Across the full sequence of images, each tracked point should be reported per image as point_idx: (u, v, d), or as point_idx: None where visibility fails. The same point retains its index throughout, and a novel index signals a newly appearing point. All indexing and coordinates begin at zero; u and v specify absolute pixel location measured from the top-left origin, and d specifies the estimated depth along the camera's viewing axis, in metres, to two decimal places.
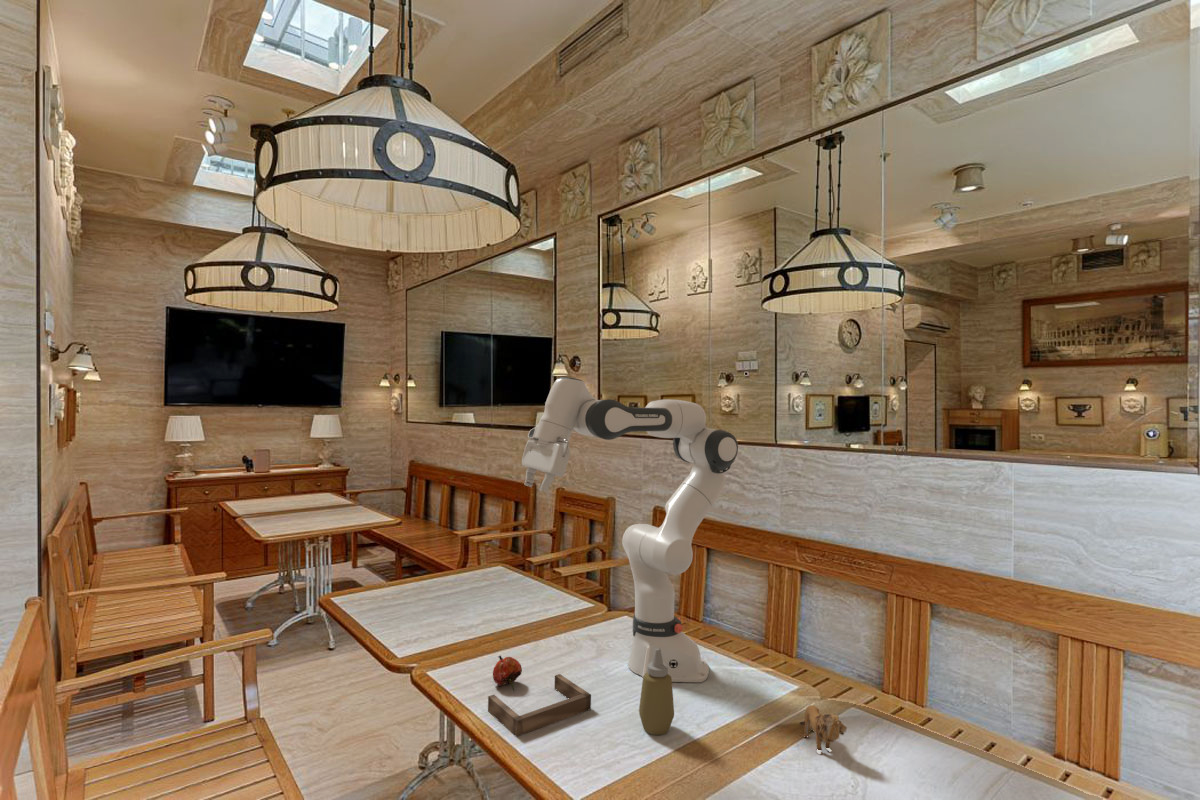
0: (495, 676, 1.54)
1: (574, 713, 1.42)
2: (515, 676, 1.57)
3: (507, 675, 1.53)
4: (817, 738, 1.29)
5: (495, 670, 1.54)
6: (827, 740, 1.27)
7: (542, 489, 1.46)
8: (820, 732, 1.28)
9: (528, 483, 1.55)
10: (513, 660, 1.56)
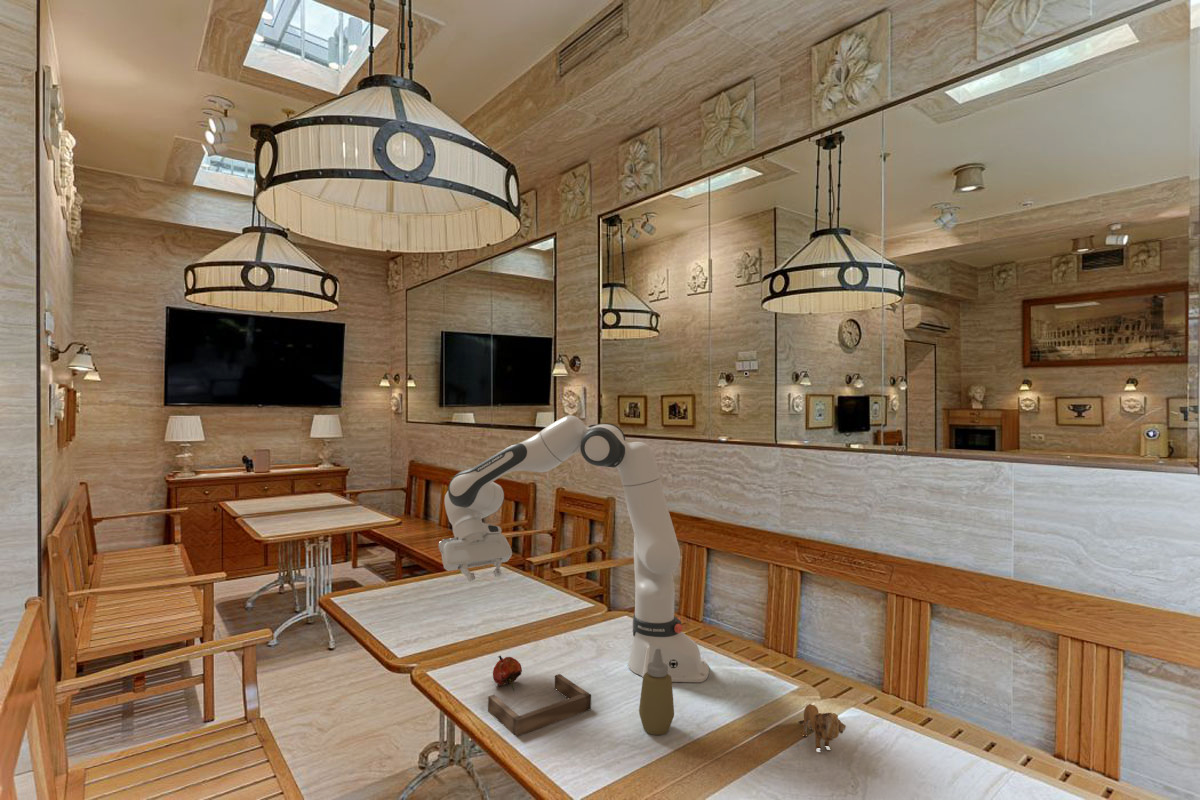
0: (495, 676, 1.54)
1: (574, 713, 1.42)
2: (515, 676, 1.57)
3: (507, 675, 1.53)
4: (816, 737, 1.29)
5: (495, 670, 1.54)
6: (826, 739, 1.27)
7: (468, 580, 1.65)
8: (819, 731, 1.28)
9: (495, 574, 1.70)
10: (513, 660, 1.56)
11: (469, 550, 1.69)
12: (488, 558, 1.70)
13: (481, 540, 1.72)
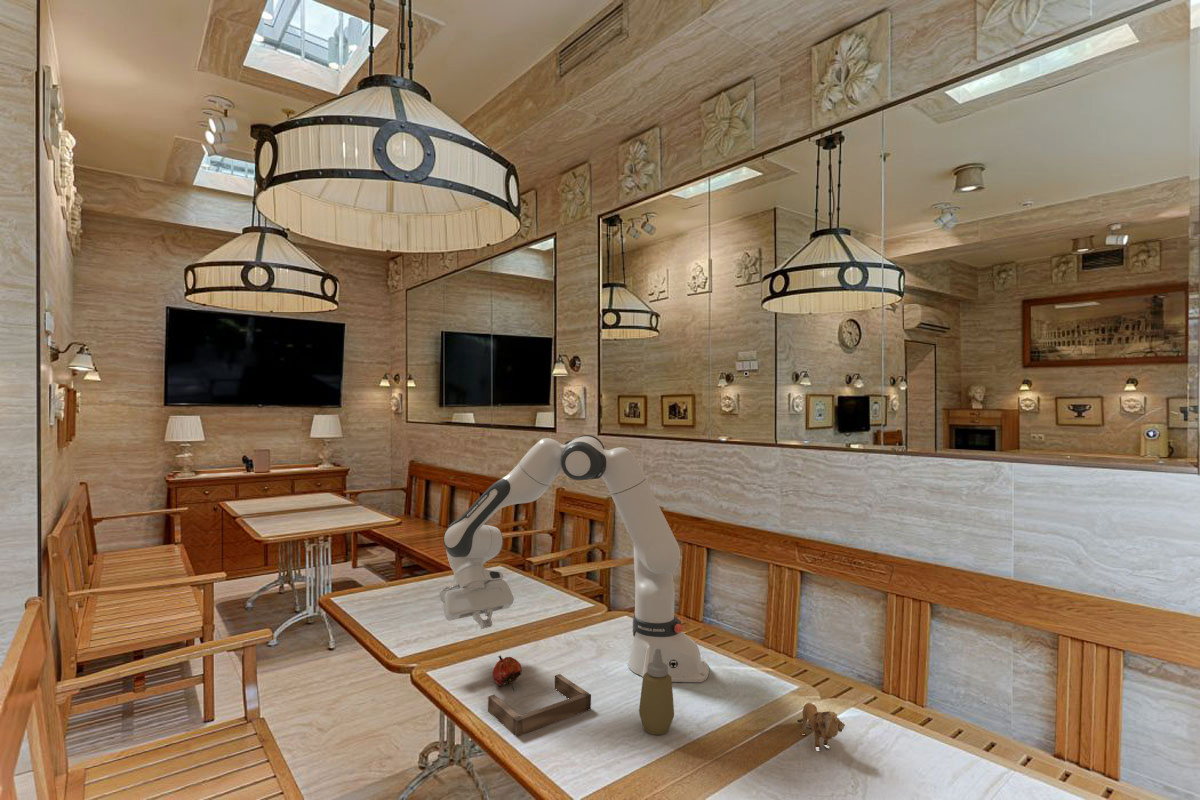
0: (495, 676, 1.54)
1: (574, 713, 1.42)
2: (515, 676, 1.57)
3: (507, 675, 1.53)
4: (815, 735, 1.30)
5: (495, 670, 1.54)
6: (825, 737, 1.28)
7: (481, 627, 1.65)
8: (818, 729, 1.29)
9: None
10: (513, 660, 1.56)
11: (470, 598, 1.68)
12: (490, 606, 1.69)
13: (482, 587, 1.71)
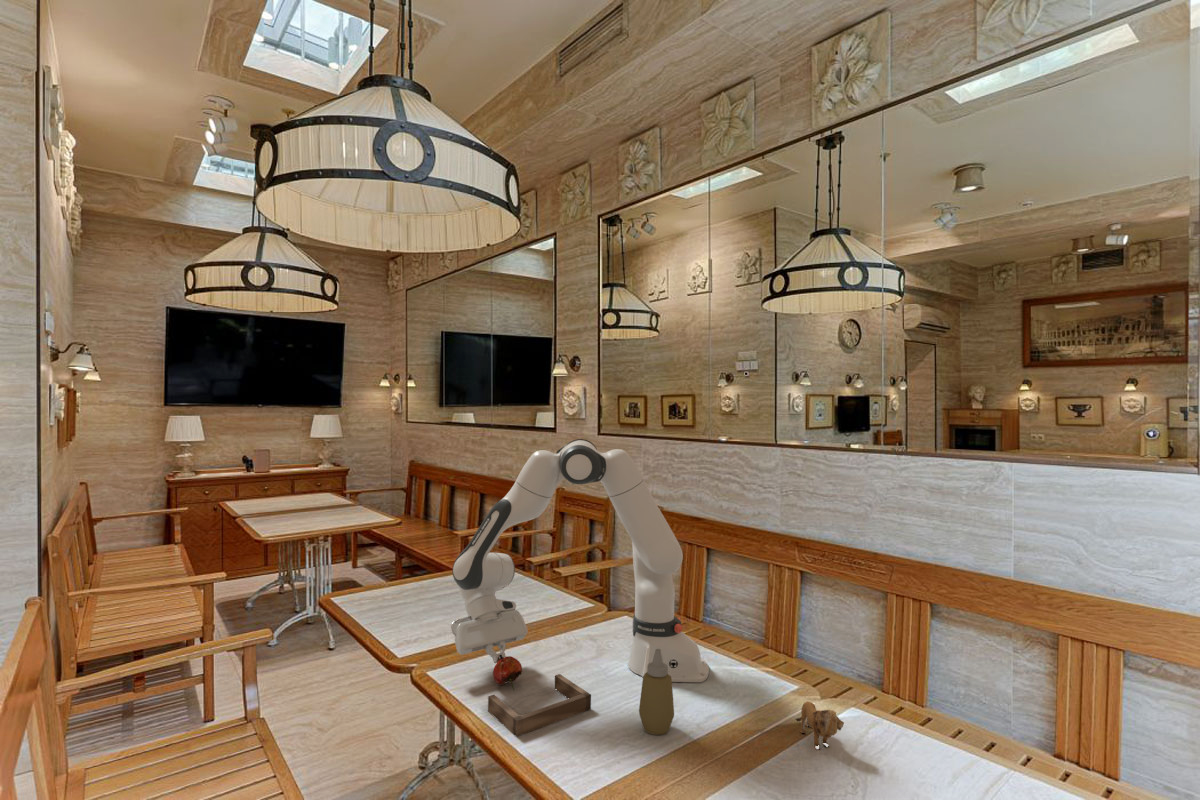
0: (495, 675, 1.54)
1: (574, 713, 1.42)
2: (515, 676, 1.57)
3: (507, 675, 1.53)
4: (815, 734, 1.31)
5: (495, 669, 1.54)
6: (825, 735, 1.29)
7: (494, 661, 1.59)
8: (817, 728, 1.29)
9: None
10: (514, 660, 1.56)
11: (483, 631, 1.62)
12: (503, 639, 1.63)
13: (495, 619, 1.65)
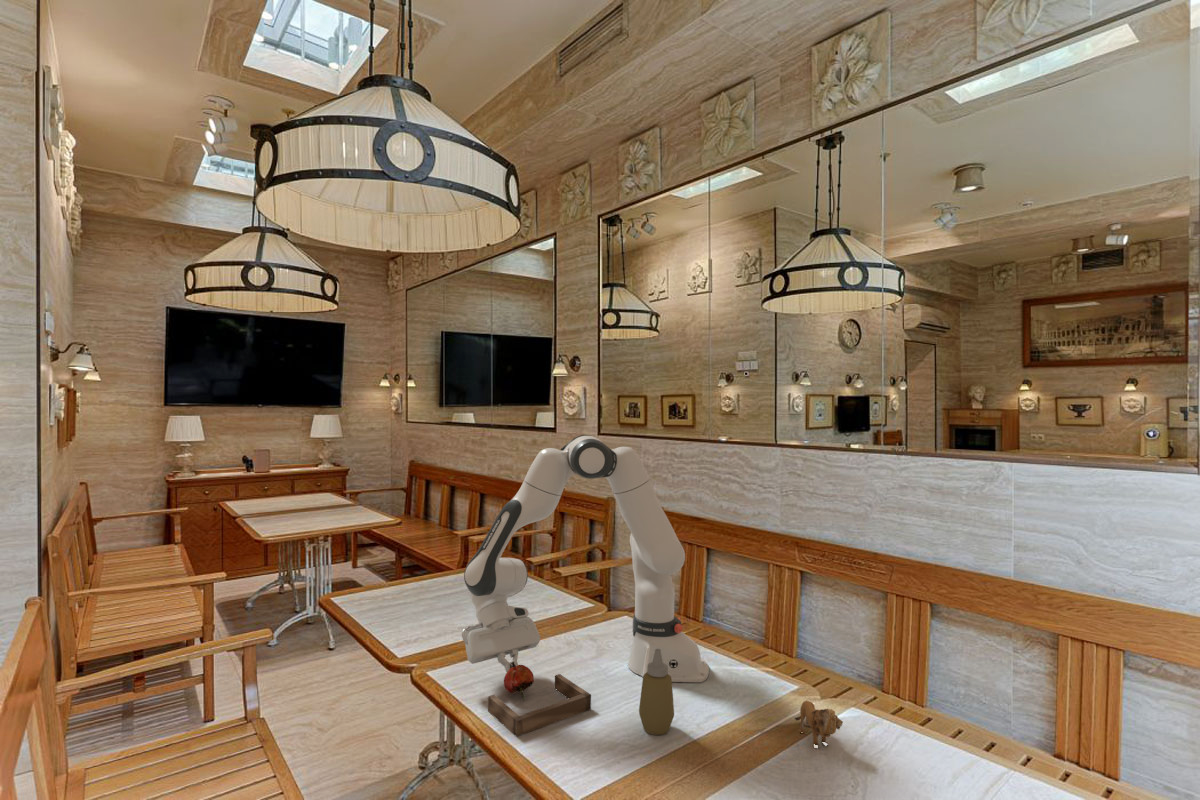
0: (506, 684, 1.49)
1: (574, 713, 1.42)
2: (526, 685, 1.51)
3: (518, 684, 1.48)
4: (814, 733, 1.31)
5: (507, 677, 1.49)
6: (824, 734, 1.29)
7: (506, 670, 1.54)
8: (816, 727, 1.30)
9: None
10: (526, 669, 1.51)
11: (495, 639, 1.56)
12: (515, 647, 1.57)
13: (507, 626, 1.60)
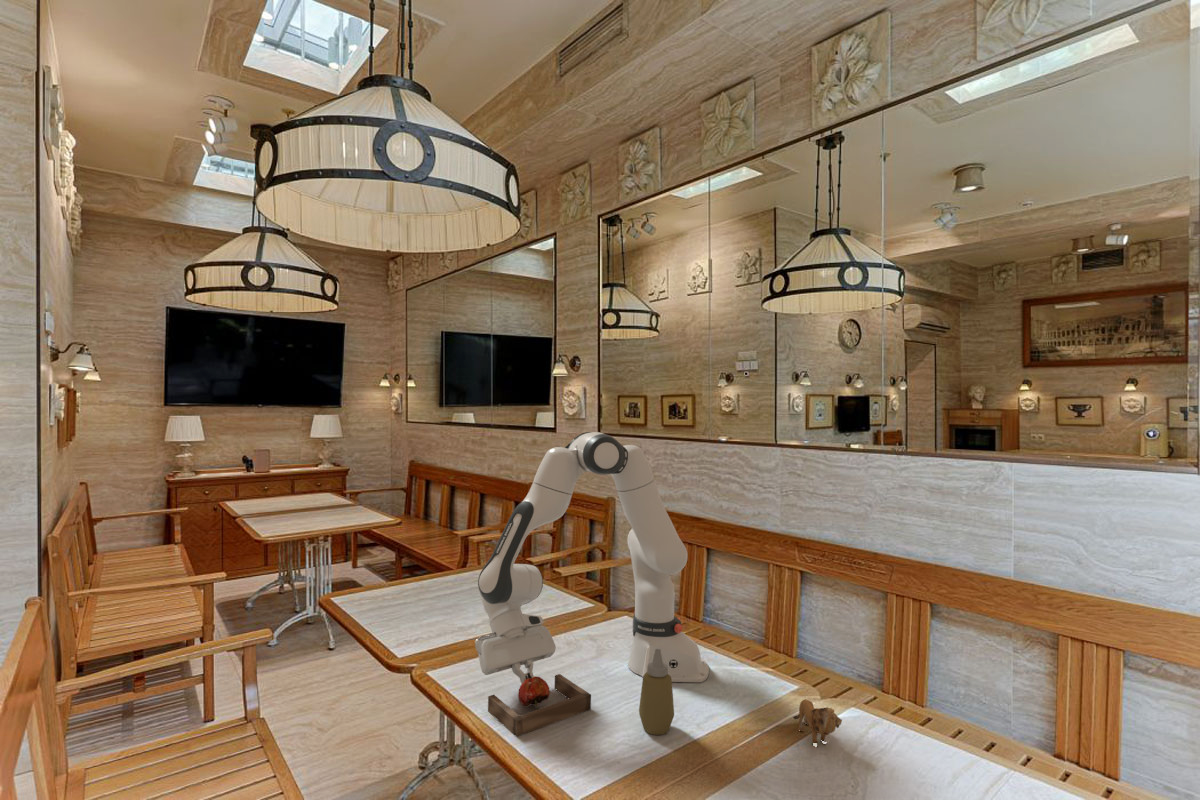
0: (521, 695, 1.43)
1: (574, 713, 1.42)
2: (541, 699, 1.45)
3: (533, 697, 1.42)
4: (813, 731, 1.32)
5: (521, 689, 1.43)
6: (823, 733, 1.30)
7: (521, 682, 1.48)
8: (816, 726, 1.30)
9: None
10: (542, 681, 1.44)
11: (509, 649, 1.50)
12: (530, 657, 1.51)
13: (522, 635, 1.54)
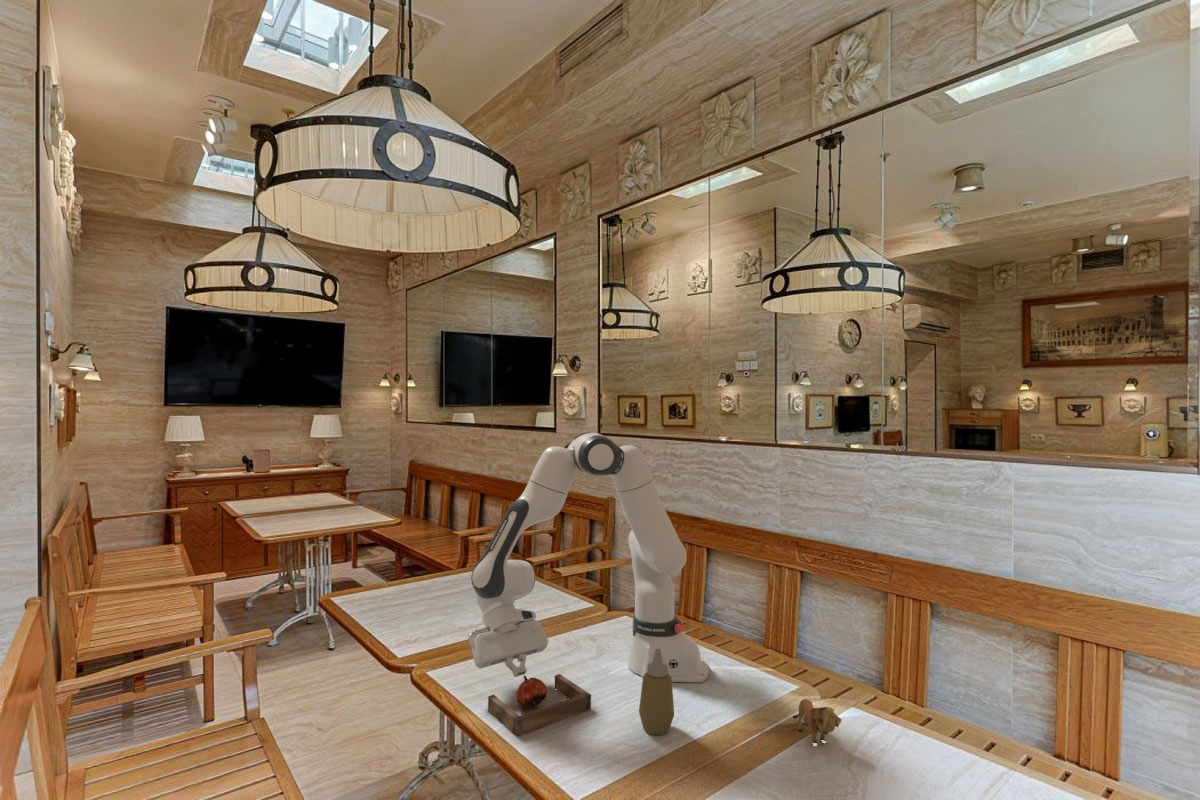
0: (518, 698, 1.43)
1: (574, 713, 1.42)
2: (540, 699, 1.45)
3: (531, 698, 1.42)
4: (813, 731, 1.32)
5: (518, 692, 1.43)
6: (823, 732, 1.30)
7: (514, 675, 1.50)
8: (815, 725, 1.31)
9: None
10: (538, 682, 1.44)
11: (502, 643, 1.53)
12: (523, 651, 1.54)
13: (514, 630, 1.56)
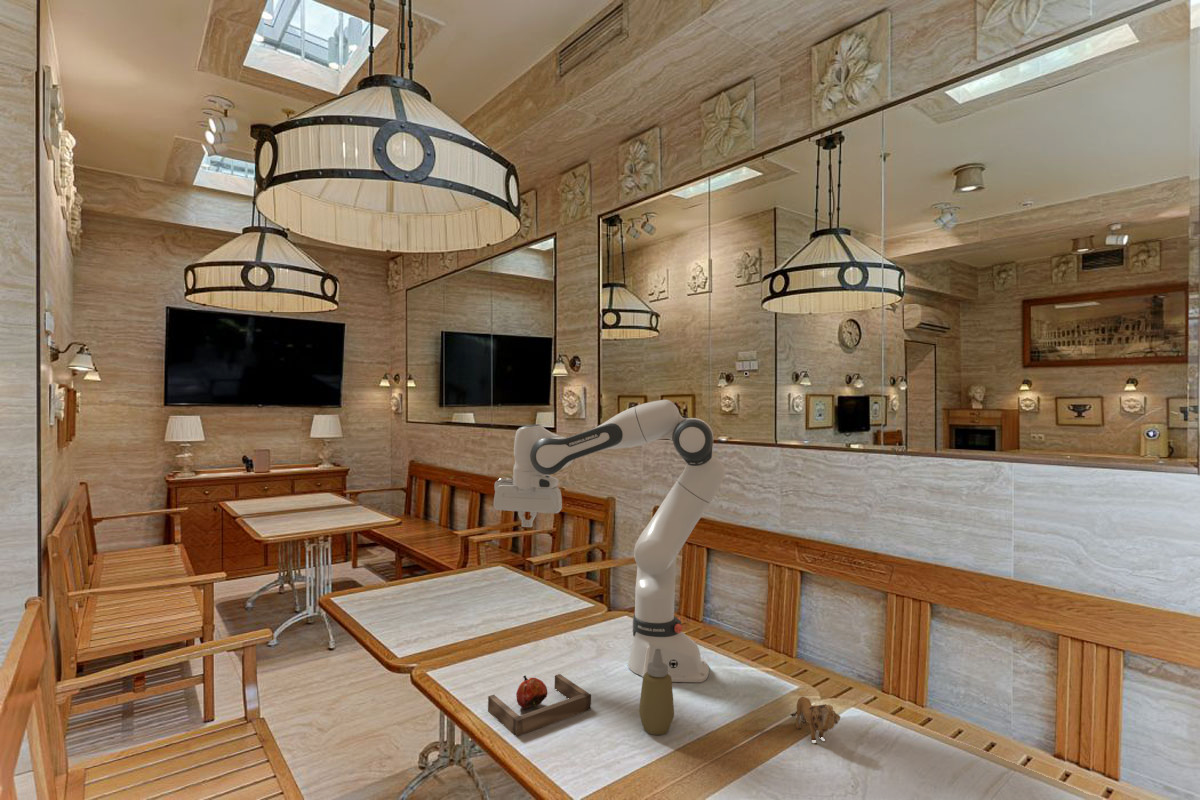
0: (518, 698, 1.43)
1: (574, 713, 1.42)
2: (540, 699, 1.45)
3: (531, 698, 1.42)
4: (812, 728, 1.33)
5: (518, 692, 1.43)
6: (822, 730, 1.31)
7: None
8: (815, 723, 1.32)
9: None
10: (538, 682, 1.44)
11: (516, 499, 1.75)
12: (532, 511, 1.75)
13: (530, 492, 1.74)
